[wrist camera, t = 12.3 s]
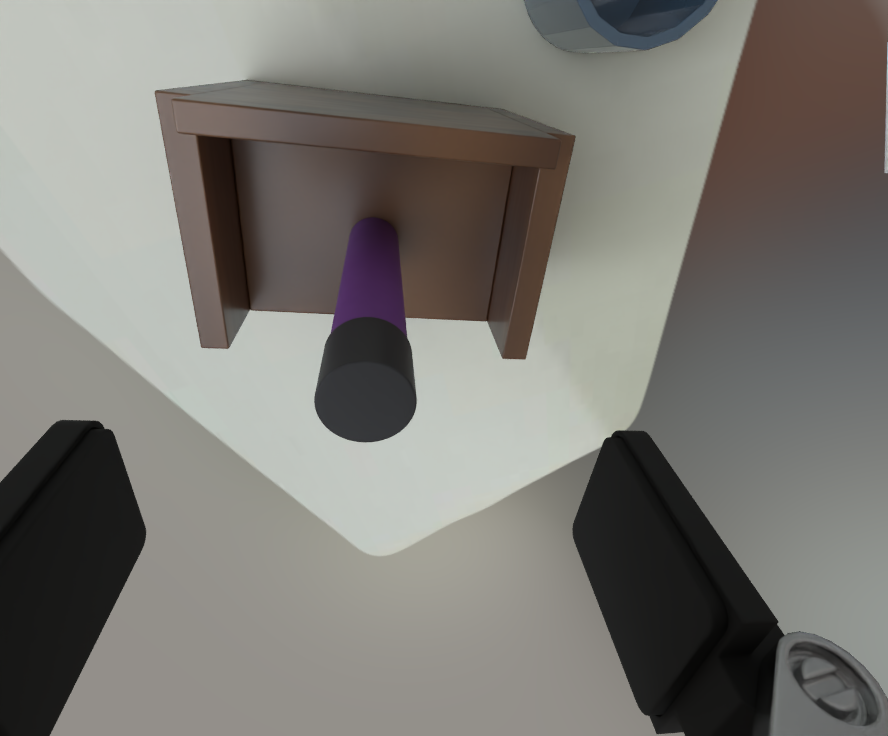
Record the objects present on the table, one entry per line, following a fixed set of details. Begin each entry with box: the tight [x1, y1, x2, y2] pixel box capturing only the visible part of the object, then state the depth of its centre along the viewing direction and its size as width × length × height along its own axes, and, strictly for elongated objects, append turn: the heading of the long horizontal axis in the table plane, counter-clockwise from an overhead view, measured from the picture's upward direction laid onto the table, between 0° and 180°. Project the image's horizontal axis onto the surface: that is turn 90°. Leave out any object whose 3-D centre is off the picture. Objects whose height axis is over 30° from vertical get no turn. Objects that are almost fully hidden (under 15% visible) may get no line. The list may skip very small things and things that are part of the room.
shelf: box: [155, 80, 575, 359], centre depth 25 cm, size 15×10×15 cm, turn 84°
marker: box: [314, 217, 417, 442], centre depth 18 cm, size 3×3×14 cm
